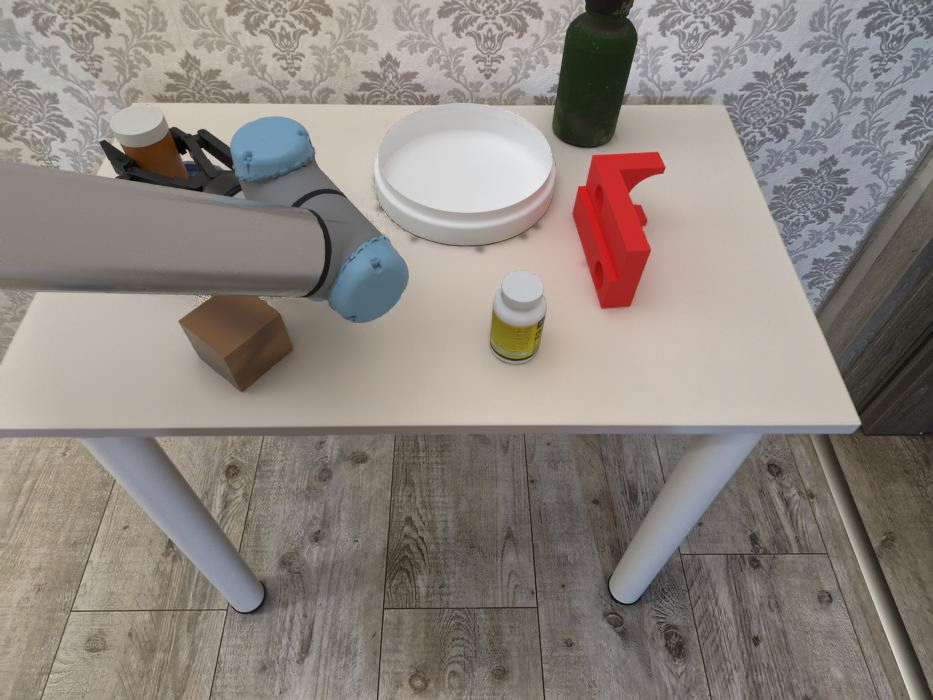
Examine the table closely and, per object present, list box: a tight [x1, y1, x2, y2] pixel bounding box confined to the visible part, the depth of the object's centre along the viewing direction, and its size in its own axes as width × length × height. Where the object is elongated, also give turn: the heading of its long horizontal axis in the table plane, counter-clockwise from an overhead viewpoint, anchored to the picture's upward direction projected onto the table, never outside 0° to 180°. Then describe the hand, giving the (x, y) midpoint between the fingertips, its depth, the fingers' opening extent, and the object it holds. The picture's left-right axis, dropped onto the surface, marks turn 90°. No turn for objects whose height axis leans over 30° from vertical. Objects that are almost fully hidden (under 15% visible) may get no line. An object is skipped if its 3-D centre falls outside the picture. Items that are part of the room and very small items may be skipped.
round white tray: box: [373, 102, 557, 247], centre depth 92 cm, size 27×27×6 cm
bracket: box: [572, 151, 667, 309], centre depth 81 cm, size 18×10×10 cm
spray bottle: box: [551, 0, 639, 147], centre depth 92 cm, size 10×10×25 cm
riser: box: [177, 296, 294, 393], centre depth 72 cm, size 8×8×7 cm
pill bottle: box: [489, 270, 548, 365], centre depth 72 cm, size 6×6×11 cm
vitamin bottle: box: [109, 104, 190, 179], centre depth 79 cm, size 6×6×11 cm
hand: (129, 137), depth 81 cm, fingers closed on vitamin bottle, 6 cm apart
